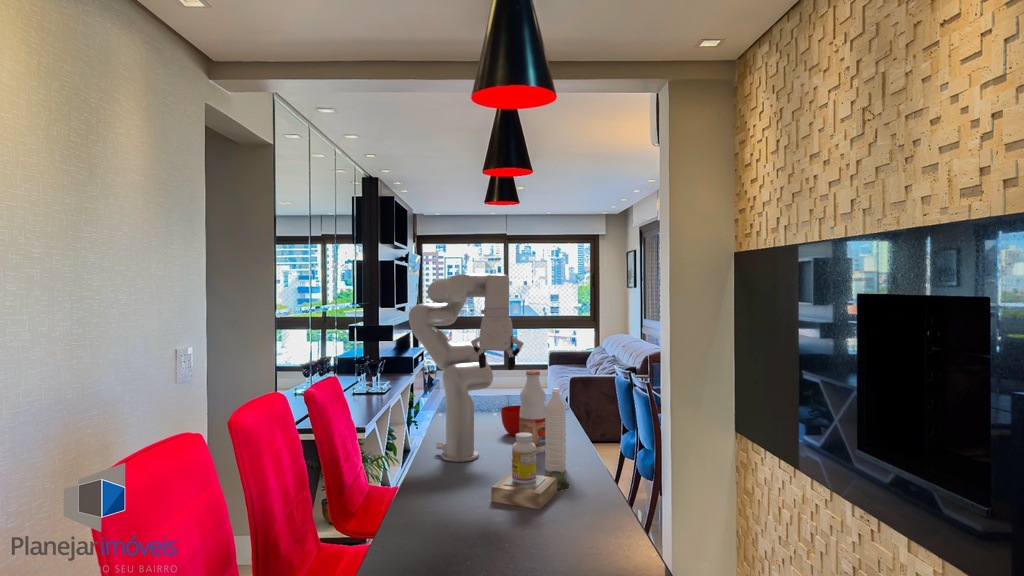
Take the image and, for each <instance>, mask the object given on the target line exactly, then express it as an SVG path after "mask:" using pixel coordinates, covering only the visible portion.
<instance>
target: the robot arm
mask: <svg viewBox="0 0 1024 576" xmlns="http://www.w3.org/2000/svg"><path fill="white" fill-rule="evenodd" d="M427 296H428V298H429V299H430V301H432V302H424V303H419V304H416V305H414V306H412V308H410V309H409V313H408V322H409V328H410V330H411V332H412V334H413V335H414V337H415V338H416V340H418V342H419V343H421V344H422V345H423V347H424V348H425V349H426V351H427V353H428V354H429V356H430V357H431V359H432V361H433V362H434V364H435V365H436V366H437V368H439V370H441V371H443V374H442V383H443V387H444V394H445V442H442V441H437V443H436V449H437V450H442V452H441V454H440V457H441V459H442V460H444V461H447V462H453V463H463V462H470V461H471V462H472V461H474V460H476V459H478V458H479V456H480V455H479V451H477V450H475V405H474V400H473V399H472V397H471V395H470V394H469V392H471V391H479V390H483V389H485V390H486V389H487V388H488V387H490V385H492V383H493V380H494V375H493V371H492V368H491V366H490V364H489V363H488V361H487V355H486V352H487V351H493V352H495V351H497V352H504V351H505V352H507V354H508V355H509V357H507V370H509V371H513V370H514V369H515V367H516V357H517V355H518V354H519V353H520V352H521V351H522V348H523V347H524V342H522V341H521V340H519V339H517V338H516V337H514V329H513V321H512V318H511V317H510V278H509V275H507V274H506V273H505V274H501V273H493V274H491V273H461V274H460V273H459V274H455V275H451V276H449V277H447V278H440V279H437V280H434V281H432V282H431V283H430V284H429V285H428V287H427ZM467 298H484V309H481V310H480V313H481V315H484V317H482V318H481V323H480V327H479V328H480V329H479V336H478V337H476V338H474V339H473V340H471V341H470V342H468V341H464V342H463V341H461V342H453V341H451V340H449V338H448V337H447V336H446V334H445V333H444V332H443V331H442V330H440V329H438V328H437V327H438V326H439V327H442V326H443V327H444V326H450V325H452V324H454V323H455V322H456V320H457V318H458V317H459V315H460V313H461V312H462V309H463V308H464V305H465V303H466V302H467V300H468V299H467ZM478 344H479V345H478ZM514 344H515V345H516V348H515V349H514Z"/></svg>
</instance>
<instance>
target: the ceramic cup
mask: <svg viewBox="0 0 1024 576" xmlns="http://www.w3.org/2000/svg"><path fill="white" fill-rule="evenodd" d="M520 407H521V405H508V406H503V407H501V410H500V415H501V417H500V418H501V423H502V426H503V428H504V430H505V431H506V432H507V434H508V435H509V436H511V437H516V434H517V433H520Z"/></svg>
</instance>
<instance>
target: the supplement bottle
mask: <svg viewBox="0 0 1024 576" xmlns="http://www.w3.org/2000/svg"><path fill="white" fill-rule="evenodd" d="M532 439H533V435H532V434H531V433H517V434H516V436H515V440H516V441H515V442H514V443H513V444H512V448H511V472H512V480H513V481H514V482H516V483H519V484H529V483H533V482H534V481H535V480H536V475H537V454H536V446H535V444H534V443H532Z"/></svg>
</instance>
